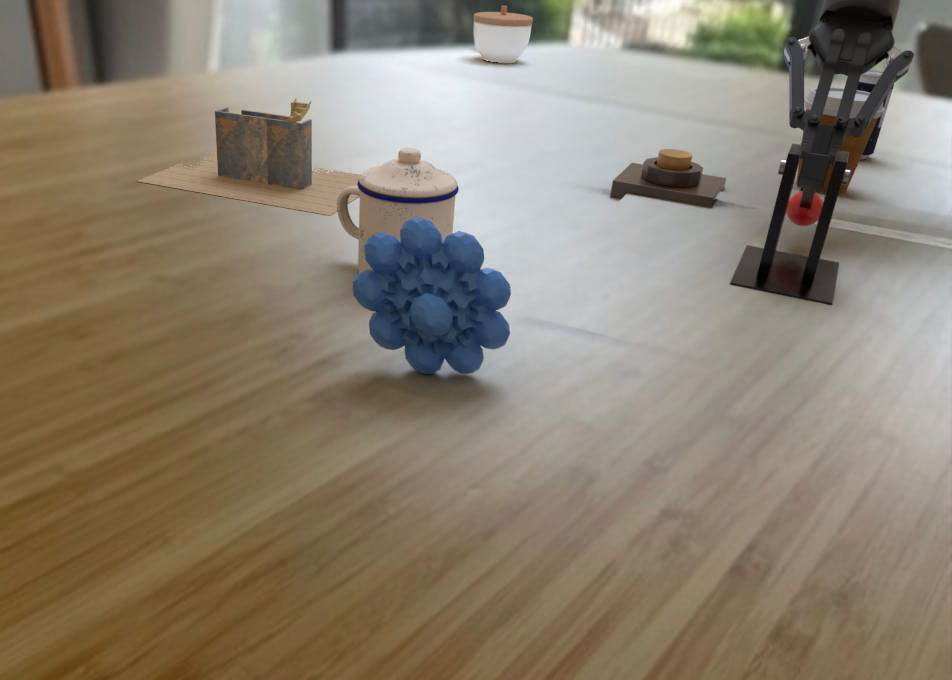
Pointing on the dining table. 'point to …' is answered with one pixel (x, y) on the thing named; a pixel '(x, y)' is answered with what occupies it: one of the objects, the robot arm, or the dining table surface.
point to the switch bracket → (792, 270)
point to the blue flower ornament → (433, 297)
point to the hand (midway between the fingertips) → (809, 185)
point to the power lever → (809, 190)
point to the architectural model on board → (263, 163)
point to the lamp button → (674, 159)
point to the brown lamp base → (668, 183)
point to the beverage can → (867, 85)
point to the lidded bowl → (501, 35)
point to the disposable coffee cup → (849, 143)
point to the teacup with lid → (399, 199)
